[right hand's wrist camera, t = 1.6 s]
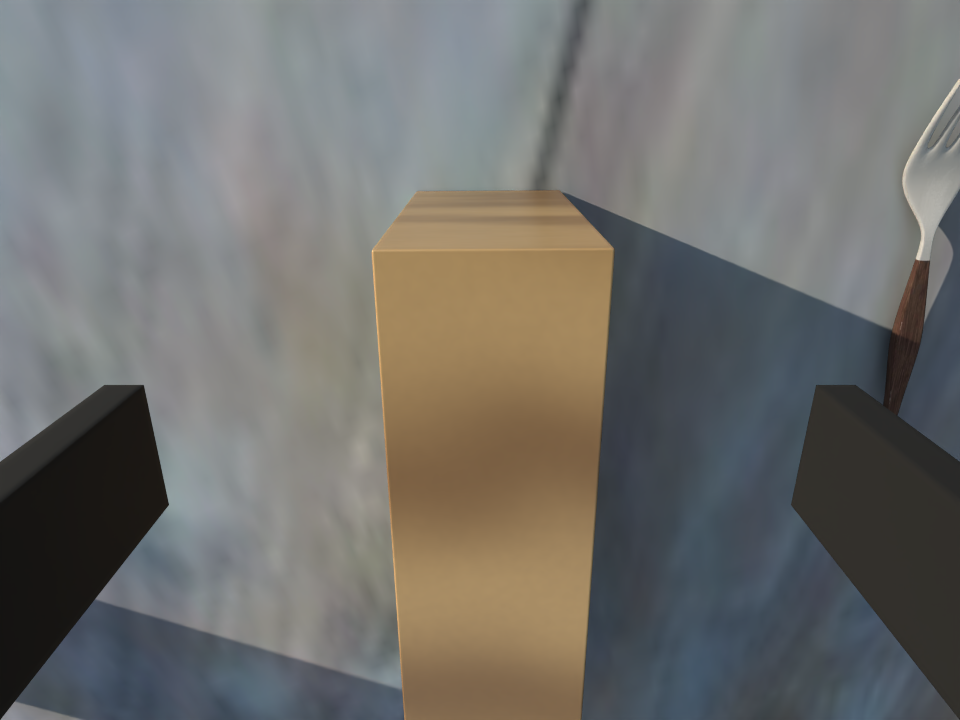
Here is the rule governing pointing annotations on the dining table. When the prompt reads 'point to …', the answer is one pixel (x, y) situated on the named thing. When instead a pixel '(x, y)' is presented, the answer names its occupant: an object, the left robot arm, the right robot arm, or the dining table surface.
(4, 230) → the dining table surface
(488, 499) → the box
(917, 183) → the fork
